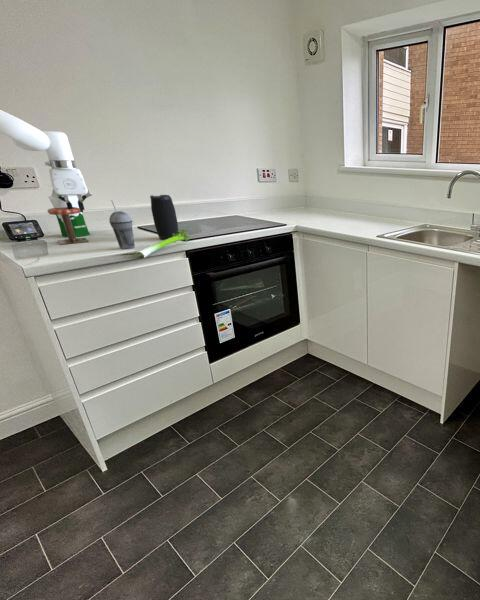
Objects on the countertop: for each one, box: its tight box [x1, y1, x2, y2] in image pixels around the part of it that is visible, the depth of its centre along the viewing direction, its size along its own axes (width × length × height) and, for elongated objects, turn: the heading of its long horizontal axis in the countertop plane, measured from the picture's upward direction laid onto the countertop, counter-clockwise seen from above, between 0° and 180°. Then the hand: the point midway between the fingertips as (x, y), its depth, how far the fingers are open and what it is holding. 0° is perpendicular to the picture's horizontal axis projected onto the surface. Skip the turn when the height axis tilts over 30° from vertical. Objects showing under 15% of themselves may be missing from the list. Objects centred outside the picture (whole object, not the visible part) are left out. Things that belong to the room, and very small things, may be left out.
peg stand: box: [57, 209, 89, 246], centre depth 146 cm, size 9×9×14 cm
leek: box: [133, 229, 191, 259], centre depth 146 cm, size 6×7×30 cm
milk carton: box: [47, 194, 91, 238], centre depth 160 cm, size 9×9×20 cm
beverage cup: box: [108, 199, 136, 251], centre depth 138 cm, size 7×7×20 cm
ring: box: [47, 207, 81, 216], centre depth 144 cm, size 10×10×2 cm
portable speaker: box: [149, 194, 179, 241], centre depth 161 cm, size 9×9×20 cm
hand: (77, 211), depth 147 cm, fingers closed on ring, 2 cm apart
